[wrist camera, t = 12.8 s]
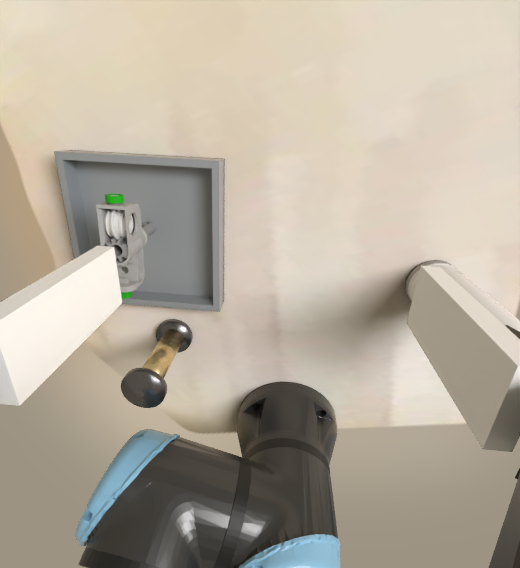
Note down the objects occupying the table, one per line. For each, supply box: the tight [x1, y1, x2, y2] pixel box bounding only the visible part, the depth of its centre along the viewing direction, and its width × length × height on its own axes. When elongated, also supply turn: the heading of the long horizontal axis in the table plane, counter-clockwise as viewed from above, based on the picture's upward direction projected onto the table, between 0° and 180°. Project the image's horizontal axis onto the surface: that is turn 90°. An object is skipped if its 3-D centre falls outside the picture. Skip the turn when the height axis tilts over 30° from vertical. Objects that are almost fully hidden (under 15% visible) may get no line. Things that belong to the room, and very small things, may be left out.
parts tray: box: [54, 150, 224, 312], centre depth 41 cm, size 18×18×3 cm
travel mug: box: [406, 260, 520, 332], centre depth 33 cm, size 6×7×20 cm
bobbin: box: [121, 319, 192, 408], centre depth 43 cm, size 5×5×12 cm
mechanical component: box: [96, 194, 156, 299], centre depth 37 cm, size 3×10×10 cm, turn 176°
